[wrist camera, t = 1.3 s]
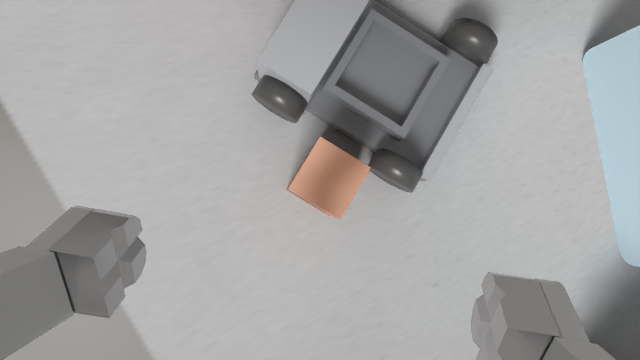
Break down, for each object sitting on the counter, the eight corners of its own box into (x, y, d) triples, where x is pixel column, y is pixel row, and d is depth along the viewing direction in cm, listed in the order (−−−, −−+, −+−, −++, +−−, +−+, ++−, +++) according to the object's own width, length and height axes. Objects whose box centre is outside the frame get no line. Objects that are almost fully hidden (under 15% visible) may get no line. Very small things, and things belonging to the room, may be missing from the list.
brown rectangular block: (286, 190, 44) (288, 187, 36) (311, 147, 44) (320, 136, 36) (328, 215, 44) (340, 218, 36) (353, 173, 44) (370, 167, 36)
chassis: (244, 95, 44) (239, 76, 37) (330, -42, 45) (340, -82, 39) (411, 197, 45) (434, 197, 38) (490, 61, 46) (524, 39, 40)
